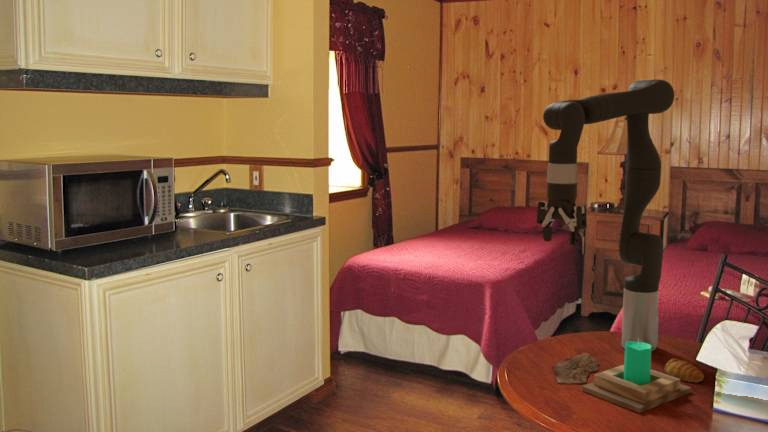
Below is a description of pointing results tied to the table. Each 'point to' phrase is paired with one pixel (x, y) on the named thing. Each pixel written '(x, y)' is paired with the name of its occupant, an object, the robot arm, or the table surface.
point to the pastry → (683, 370)
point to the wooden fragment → (575, 369)
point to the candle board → (630, 401)
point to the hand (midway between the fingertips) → (560, 243)
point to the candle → (637, 362)
